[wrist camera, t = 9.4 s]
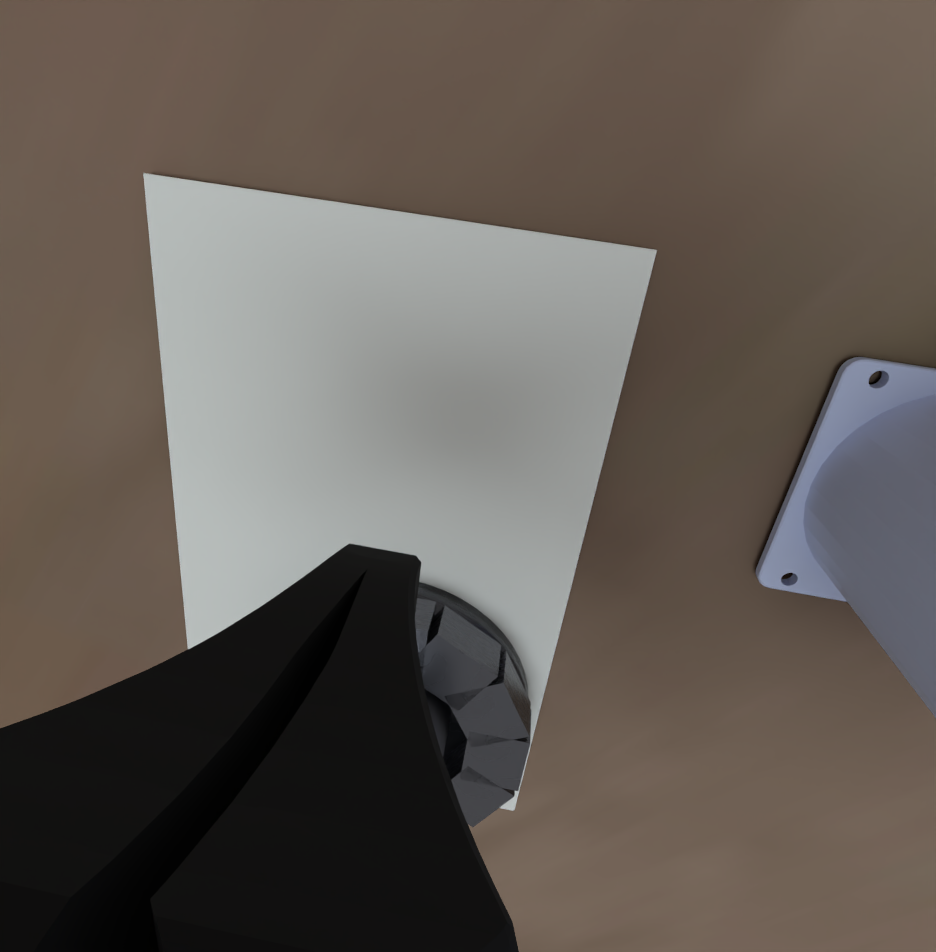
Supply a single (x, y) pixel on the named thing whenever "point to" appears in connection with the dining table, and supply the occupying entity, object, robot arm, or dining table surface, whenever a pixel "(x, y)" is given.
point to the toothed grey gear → (475, 699)
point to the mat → (384, 398)
